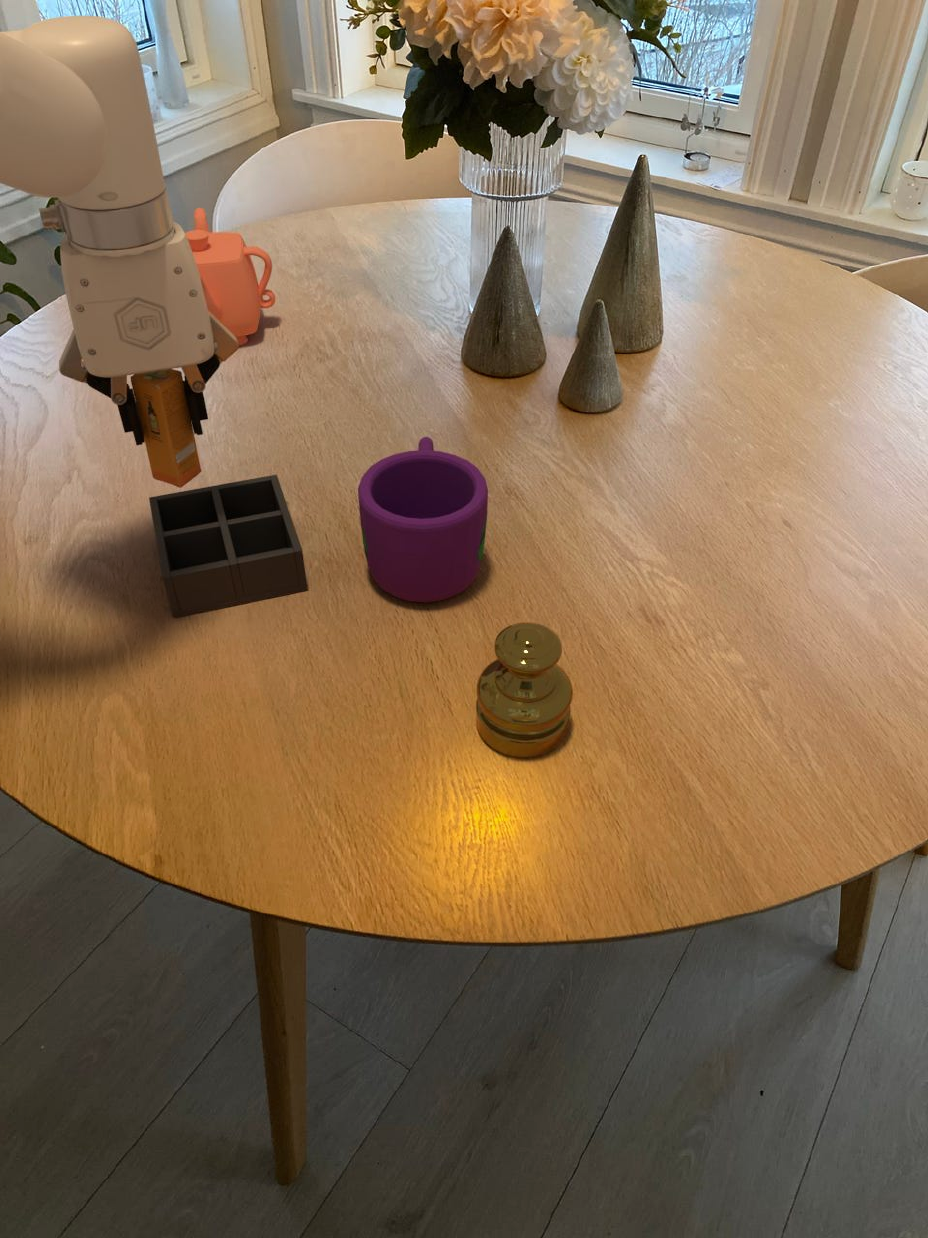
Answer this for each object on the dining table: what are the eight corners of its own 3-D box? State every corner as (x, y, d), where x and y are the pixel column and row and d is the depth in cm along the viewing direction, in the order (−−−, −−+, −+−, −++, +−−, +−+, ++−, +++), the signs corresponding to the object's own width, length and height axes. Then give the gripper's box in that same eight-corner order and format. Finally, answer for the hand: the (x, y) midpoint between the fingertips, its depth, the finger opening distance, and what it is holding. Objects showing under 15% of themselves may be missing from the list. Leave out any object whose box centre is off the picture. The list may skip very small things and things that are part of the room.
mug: (486, 613, 86) (489, 525, 79) (359, 612, 86) (351, 524, 79) (483, 497, 99) (485, 412, 92) (372, 496, 98) (367, 411, 92)
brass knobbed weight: (579, 751, 75) (593, 663, 68) (487, 767, 74) (491, 679, 67) (553, 683, 80) (563, 594, 73) (466, 696, 79) (468, 608, 72)
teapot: (210, 373, 116) (191, 272, 107) (124, 331, 123) (100, 233, 114) (299, 329, 124) (288, 231, 116) (214, 292, 132) (198, 197, 123)
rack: (173, 618, 85) (162, 578, 82) (159, 536, 93) (148, 497, 90) (307, 590, 88) (302, 550, 85) (282, 513, 96) (276, 474, 93)
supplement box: (205, 470, 86) (184, 370, 79) (180, 490, 84) (156, 388, 77) (176, 460, 87) (153, 360, 80) (151, 479, 85) (125, 378, 78)
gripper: (-5, 251, 65) (68, 473, 78) (241, 223, 69) (273, 438, 82) (-4, 210, 71) (64, 425, 83) (226, 186, 75) (258, 394, 87)
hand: (168, 429), depth 83 cm, fingers closed on supplement box, 4 cm apart
